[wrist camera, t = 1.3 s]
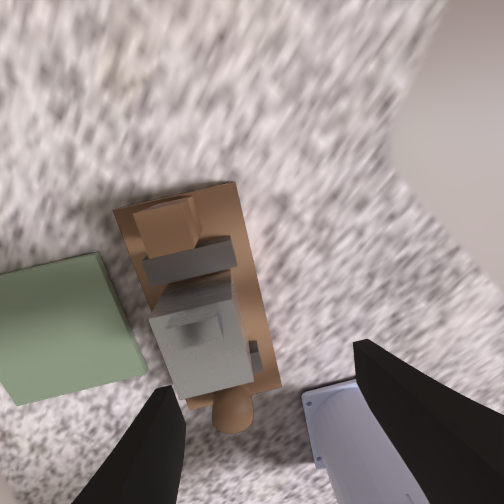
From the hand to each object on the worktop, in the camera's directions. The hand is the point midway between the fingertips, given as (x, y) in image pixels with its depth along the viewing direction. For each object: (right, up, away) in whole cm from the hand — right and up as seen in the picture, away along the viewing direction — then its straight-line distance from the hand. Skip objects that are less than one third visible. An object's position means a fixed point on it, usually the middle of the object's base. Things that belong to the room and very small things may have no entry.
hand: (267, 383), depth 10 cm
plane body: (-4, +2, +9) cm, 10 cm away
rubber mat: (-15, -1, +9) cm, 17 cm away
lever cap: (-3, +1, +7) cm, 8 cm away
